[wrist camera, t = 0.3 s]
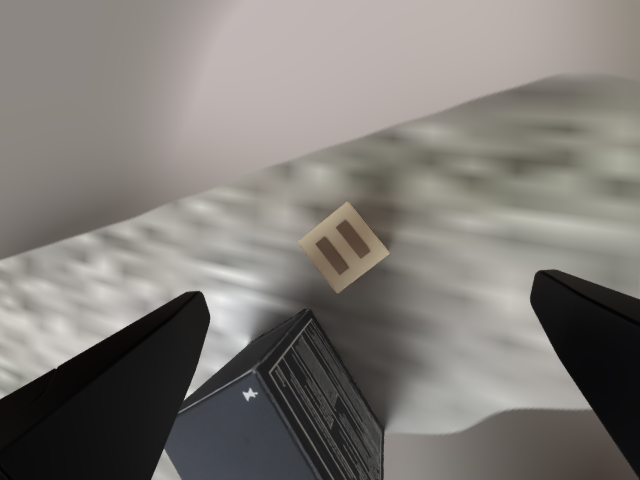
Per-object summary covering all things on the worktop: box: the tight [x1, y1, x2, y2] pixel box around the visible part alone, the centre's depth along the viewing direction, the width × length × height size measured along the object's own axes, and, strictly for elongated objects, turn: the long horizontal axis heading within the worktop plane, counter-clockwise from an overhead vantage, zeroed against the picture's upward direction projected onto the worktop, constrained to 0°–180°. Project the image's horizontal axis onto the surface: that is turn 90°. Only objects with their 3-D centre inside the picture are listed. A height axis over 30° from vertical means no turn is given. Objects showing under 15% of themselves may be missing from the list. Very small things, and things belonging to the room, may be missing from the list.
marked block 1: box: [297, 201, 390, 294], centre depth 21 cm, size 4×4×4 cm
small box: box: [164, 309, 384, 480], centre depth 18 cm, size 11×6×10 cm, turn 33°
